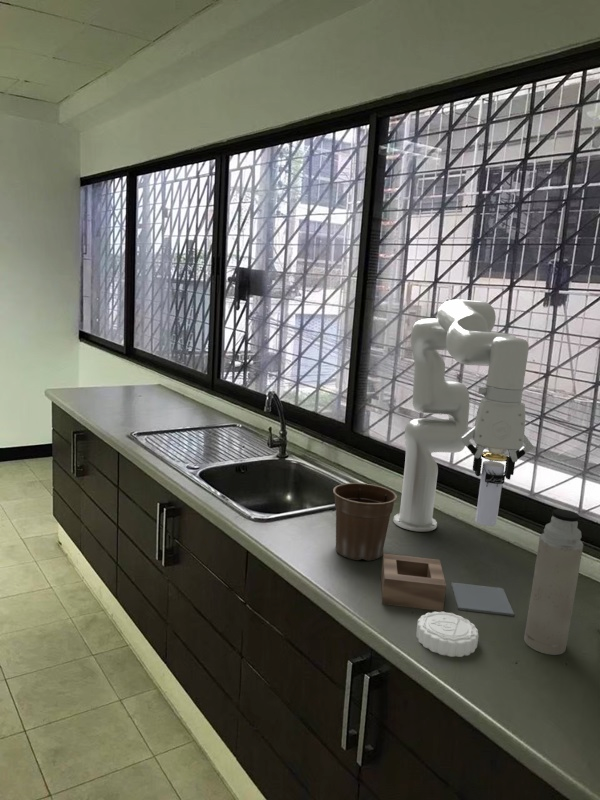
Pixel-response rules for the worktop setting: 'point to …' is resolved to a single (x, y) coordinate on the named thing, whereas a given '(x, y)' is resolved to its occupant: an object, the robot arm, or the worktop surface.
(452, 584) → the mat
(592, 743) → the worktop surface
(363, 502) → the plant pot
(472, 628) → the mooncake
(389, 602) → the frame
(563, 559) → the thermos bottle
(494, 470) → the perfume bottle
